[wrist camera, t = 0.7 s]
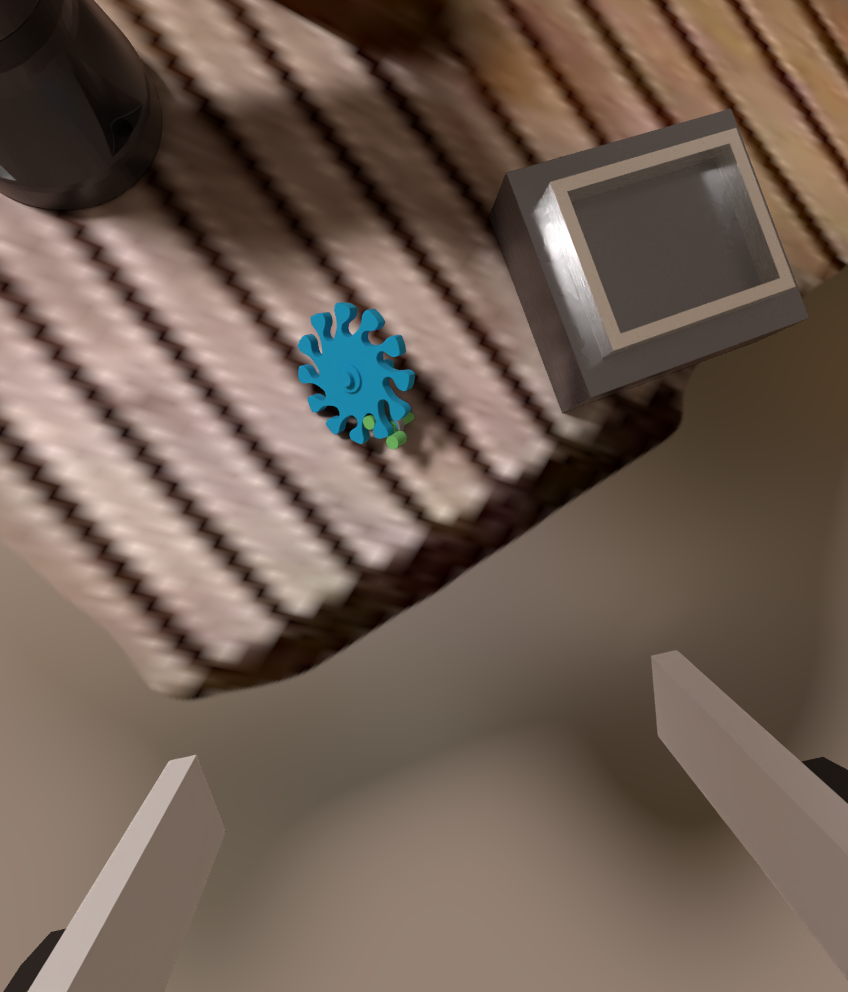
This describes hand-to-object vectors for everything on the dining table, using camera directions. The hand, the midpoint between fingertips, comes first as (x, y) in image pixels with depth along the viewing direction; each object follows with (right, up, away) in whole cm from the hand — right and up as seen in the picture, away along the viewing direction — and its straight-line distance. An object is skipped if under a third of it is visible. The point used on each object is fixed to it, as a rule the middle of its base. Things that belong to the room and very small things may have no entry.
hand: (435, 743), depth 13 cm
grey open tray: (+18, +26, +27) cm, 41 cm away
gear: (-6, +15, +24) cm, 29 cm away
